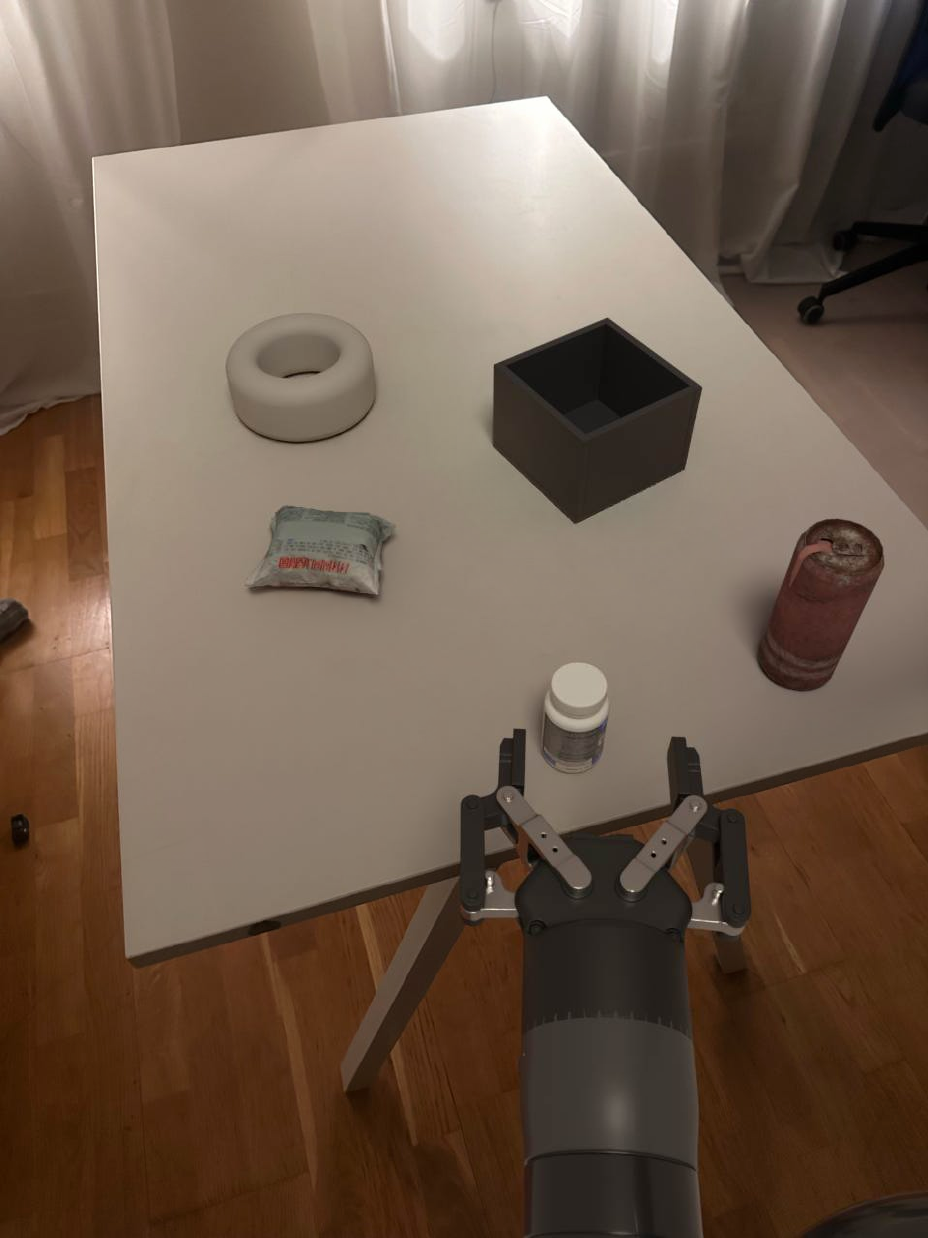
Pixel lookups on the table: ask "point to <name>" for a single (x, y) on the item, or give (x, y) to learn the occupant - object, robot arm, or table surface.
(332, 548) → the packaged food
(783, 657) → the can
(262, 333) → the donut shape
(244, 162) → the table surface
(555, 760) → the pill bottle
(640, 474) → the trash bin
